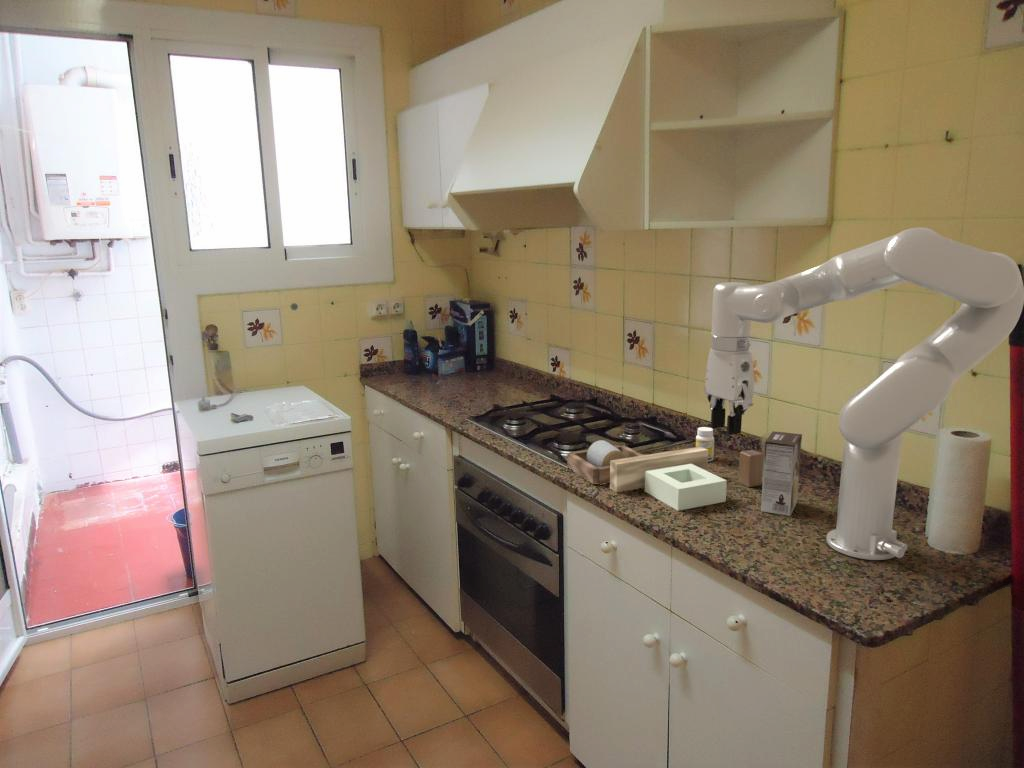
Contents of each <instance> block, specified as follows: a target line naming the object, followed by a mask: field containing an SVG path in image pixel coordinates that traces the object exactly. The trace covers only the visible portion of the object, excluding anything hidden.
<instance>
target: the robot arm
mask: <svg viewBox="0 0 1024 768" xmlns="http://www.w3.org/2000/svg"><path fill="white" fill-rule="evenodd" d="M907 282H908V283H910V284H913V285H915V286H916V287H920V288H922V289H926V290H928V291H931V292H934V293H936V294H938V295H941V296H944V297H947V298H949V299H952V300H955V301H957V302H960V303H962V304H961V306H960V307H959V308H958V310H957V311H956V312H955V313H954V314H952V315H951V316H950V317H949V318H948V319H947V320H946V321H944V322H943V324H941V325H940V326H939V327H938V328H937V329H936V330H934V331H933V332H932V333H931V334H930V335H928V336H927V337H926V338H924V340H922V341H920V342H919V343H918V344H917V345H916V346H914V347H913V348H911V349H909V350H908V351H906V352H905V353H903V354H902V355H901V356H900V357H899V358H898V359H897V360H896V361H895V363H893V364H892V365H891V366H890V367H889V368H887V370H885V371H884V372H883V373H882V374H881V375H879V376H878V377H877V378H876V379H875V380H873V381H872V382H871V383H870V384H869V385H866V386H864V387H863V386H862V387H861V388H860V389H858V390H857V391H855V392H854V393H853V394H852V395H851V396H850V397H849V399H848V400H847V401H846V402H845V404H844V405H843V407H842V408H841V410H840V412H839V415H838V420H837V422H838V428H839V431H840V433H841V436H842V437H843V439H844V442H843V453H842V461H841V462H842V463H841V471H840V480H839V481H840V482H839V494H838V505H837V516H836V527H835V528H834V529H831V530H830V531H829V532H827V534H826V543H827V545H829V547H830V548H831V549H832V550H835V551H836V552H838V553H840V554H843V555H846V556H849V557H851V558H856V559H861V560H869V561H886V560H889V559H894V558H895V557H896V558H898V559H901V558H903V557H904V555H905V552H906V551H907V550H908V544H906V543H904V542H901V541H899V540H898V539H897V536H898V531H897V530H894V529H893V523H894V514H895V513H894V512H895V505H896V504H895V503H896V495H897V488H898V487H897V485H898V477H899V469H900V468H899V467H900V461H901V452H902V444H903V439H904V438H903V437H904V433H905V432H907V431H908V430H909V429H910V428H911V427H913V426H914V425H915V424H917V423H918V422H920V421H921V420H923V418H924V417H926V416H927V415H928V414H929V413H931V412H933V411H934V410H935V409H937V407H938V406H940V404H943V402H944V401H945V400H946V399H947V398H948V396H950V394H951V391H952V390H953V387H954V385H955V383H956V382H957V381H958V380H959V379H960V378H962V377H963V376H964V375H965V374H966V373H968V372H969V371H970V370H972V369H973V368H974V367H975V366H977V365H978V364H979V363H980V362H981V361H982V360H983V359H985V358H986V357H987V356H988V355H990V353H992V352H993V351H995V349H997V348H998V347H999V346H1000V345H1001V344H1002V343H1003V342H1004V341H1005V340H1006V339H1007V338H1008V336H1009V335H1011V333H1012V331H1013V330H1014V329H1015V327H1016V325H1017V323H1018V321H1019V320H1020V317H1021V315H1022V312H1023V308H1024V281H1023V279H1022V274H1021V271H1020V268H1019V266H1018V264H1017V262H1016V261H1015V260H1014V259H1012V257H1011V256H1008V255H1007V254H1005V253H1001V252H997V251H986V250H984V249H980V248H978V247H975V246H972V245H969V244H965V243H962V242H960V241H957V240H954V239H951V238H948V237H946V236H942V235H940V234H939V233H938V232H936V231H935V230H933V229H931V228H928V227H922V226H919V227H912V228H907V229H905V230H902V231H900V232H899V233H896V234H894V235H893V234H892V235H890V236H887V237H886V238H883V239H880V240H877V241H874V242H871V243H869V244H866V245H862V246H860V247H857V248H855V249H852V250H849V251H845V252H842V253H840V254H837V255H835V256H834V257H832V258H829V260H827V261H825V262H824V263H822V264H820V265H818V266H817V265H816V266H815V267H812V268H810V269H807V270H804V271H800V272H798V273H796V274H793V275H790V276H787V277H784V278H781V279H778V280H775V281H771V282H767V283H764V284H756V285H750V284H749V283H746V282H737V281H735V282H734V281H732V282H731V281H730V282H729V281H728V282H727V281H726V282H720V283H717V284H716V285H715V286H714V288H713V292H712V311H711V312H712V314H711V333H710V334H711V336H710V349H709V353H708V357H707V358H708V359H707V364H706V371H705V372H706V373H705V386H704V387H703V390H702V392H703V393H704V394H705V396H706V397H707V400H708V402H709V409H710V410H711V414H710V428H712V429H713V430H714V429H721V428H724V427H725V426H726V434H727V435H729V436H731V435H738V434H741V432H742V421H743V420H742V418H743V416H744V415H745V412H746V411H747V410H748V409H750V408H751V407H753V406H754V401H753V398H754V391H755V389H754V388H755V377H754V375H755V373H754V372H755V371H754V362H753V361H754V360H753V355H752V352H750V347H751V323H752V322H757V323H761V324H762V323H763V324H771V323H775V322H776V323H777V322H778V321H780V320H782V319H784V318H788V317H789V316H792V315H794V314H795V315H796V314H798V313H799V314H800V313H801V312H805V311H807V310H811V309H813V308H816V307H820V306H823V305H827V304H829V303H834V302H839V301H840V302H842V301H843V302H844V301H851V300H854V299H857V298H861V297H863V296H866V295H869V294H873V293H875V292H879V291H882V290H885V289H888V288H891V287H894V286H898V285H901V284H904V283H907ZM726 401H728V409H729V415H727V417H726V408H724V407H725V402H726ZM736 404H737V405H736ZM726 418H727V419H726ZM726 420H727V421H726ZM726 423H727V424H726Z"/></svg>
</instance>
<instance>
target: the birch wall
mask: <svg viewBox="0 0 1024 768" xmlns="http://www.w3.org/2000/svg"><path fill="white" fill-rule="evenodd" d="M642 455H643V456H637V457H630V458H624V459H618V460H611V461H610V484H609V489H610V490H611V489H612V490H611V491H613V492H614V491H615V493H616V494H617V492H618V493H622V492H623V491H624V492H629V491H634V489H635V490H640V489H639V488H641V489H645V471H650V470H656V469H662V468H668V467H674V466H680V465H686V464H693V465H695V466H697V467H699V468H702V469H704V470H706V471H708V465H709V463H708V449H705V448H703V447H696V446H695V447H688V448H683V449H676V450H669V451H665V452H664V451H663V452H657V453H651V454H642ZM628 490H629V491H628Z"/></svg>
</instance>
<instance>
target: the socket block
mask: <svg viewBox="0 0 1024 768" xmlns="http://www.w3.org/2000/svg"><path fill="white" fill-rule="evenodd" d="M727 483H728V480H727V479H724V478H722V477H720V476H719V475H716V474H714V473H711V472H710V471H708V470H707V471H706V470H704V469H702V468H699V467H697V466H695V465H693V464H686V465H680V466H674V467H668V468H662V469H656V470H650V471H645V488H644V492H645V493H647V494H648V495H650V496H652V497H654V498H655V499H657V500H658V501H660V502H662V503H664V504H665V505H667V506H669V507H670V508H673V509H674V510H675V511H677V512H679V511H684V510H688V509H694V508H698V507H705V506H710V505H716V504H719V503H725V502H727V501H726V500H727V498H726V497H727V485H728V484H727Z"/></svg>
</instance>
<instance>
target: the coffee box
mask: <svg viewBox="0 0 1024 768" xmlns="http://www.w3.org/2000/svg"><path fill="white" fill-rule="evenodd" d="M802 437H803V434H802V433H793V432H792V433H791V432H783V431H774V430H773V431H771V433H770V434H769V436H768V437H767V438H766V440H765V442H764V453H763V470H762V486H761V489H762V491H761V505H760V506H761V507H760V511H761V512H764V513H771V514H776V515H781V516H789V517H791V516H792V513H793V511H794V510H795V508H796V505H797V502H798V495H799V480H800V466H801V455H802V454H801V452H802V440H803V439H802Z"/></svg>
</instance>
